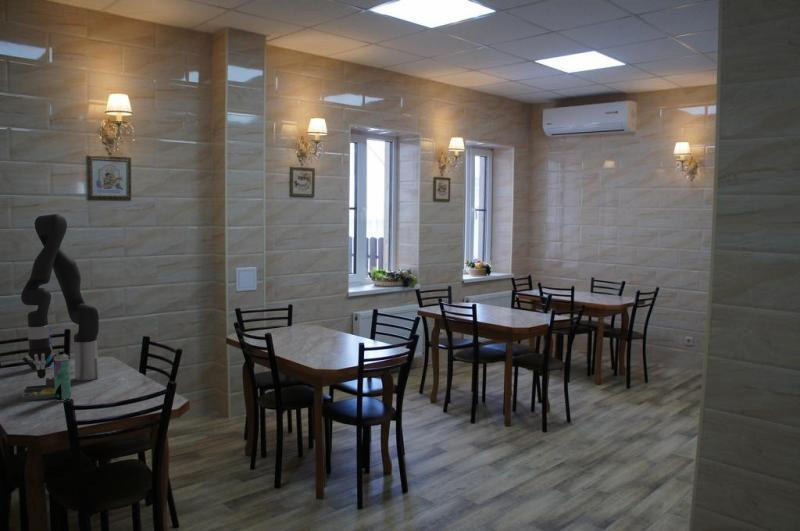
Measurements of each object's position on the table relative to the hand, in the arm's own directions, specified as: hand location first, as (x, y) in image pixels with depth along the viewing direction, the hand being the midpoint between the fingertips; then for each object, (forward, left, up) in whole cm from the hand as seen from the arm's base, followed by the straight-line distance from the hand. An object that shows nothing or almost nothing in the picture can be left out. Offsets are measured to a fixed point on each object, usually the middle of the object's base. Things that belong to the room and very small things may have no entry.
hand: (41, 377), depth 261 cm
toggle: (-3, 0, -5) cm, 5 cm away
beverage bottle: (+6, -47, -7) cm, 48 cm away
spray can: (-9, +12, -7) cm, 16 cm away
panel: (-1, +3, -7) cm, 7 cm away
